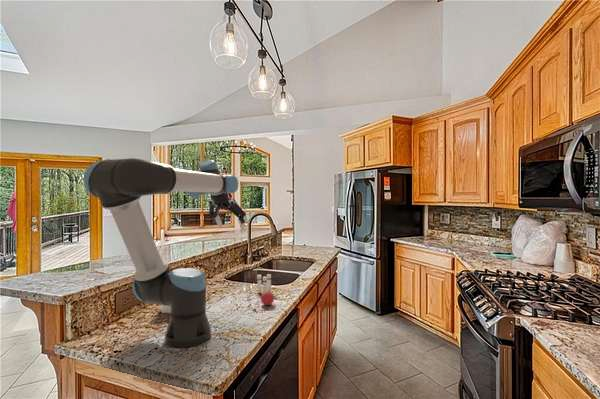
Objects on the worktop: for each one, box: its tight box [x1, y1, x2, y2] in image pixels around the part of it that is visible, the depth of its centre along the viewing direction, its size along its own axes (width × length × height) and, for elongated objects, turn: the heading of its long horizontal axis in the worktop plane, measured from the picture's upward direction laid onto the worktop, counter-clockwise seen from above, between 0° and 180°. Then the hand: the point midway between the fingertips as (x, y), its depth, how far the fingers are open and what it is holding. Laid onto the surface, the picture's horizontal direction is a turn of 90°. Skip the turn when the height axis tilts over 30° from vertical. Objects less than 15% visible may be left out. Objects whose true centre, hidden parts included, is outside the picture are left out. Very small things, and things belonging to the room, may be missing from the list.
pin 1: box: [256, 274, 262, 294], centre depth 160 cm, size 2×2×9 cm
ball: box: [260, 291, 275, 306], centre depth 141 cm, size 6×6×6 cm
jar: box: [160, 305, 171, 314], centre depth 135 cm, size 9×8×12 cm
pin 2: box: [266, 273, 272, 293], centre depth 161 cm, size 2×2×9 cm
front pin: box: [262, 276, 267, 294], centre depth 156 cm, size 2×2×9 cm
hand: (232, 227), depth 156 cm, fingers open, 13 cm apart
